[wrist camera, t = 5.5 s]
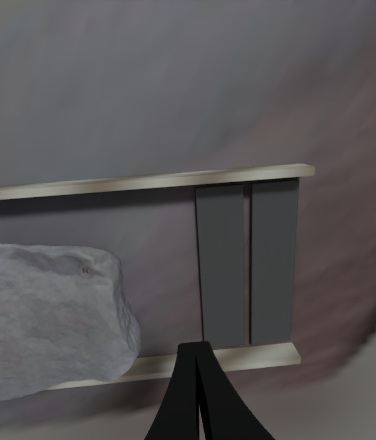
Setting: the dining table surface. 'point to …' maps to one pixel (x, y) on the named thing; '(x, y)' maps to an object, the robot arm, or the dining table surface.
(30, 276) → the stone block
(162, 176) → the grey cream flat frame
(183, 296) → the dining table surface
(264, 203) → the tiles
